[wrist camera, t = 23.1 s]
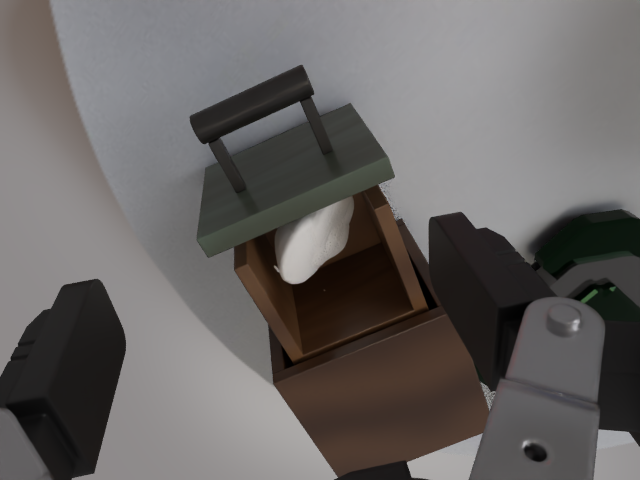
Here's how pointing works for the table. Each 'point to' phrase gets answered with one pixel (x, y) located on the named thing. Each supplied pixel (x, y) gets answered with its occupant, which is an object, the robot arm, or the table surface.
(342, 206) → the dumpling
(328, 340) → the drawer
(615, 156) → the table surface
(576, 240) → the flat green button pad
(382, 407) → the cabinet
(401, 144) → the table surface
